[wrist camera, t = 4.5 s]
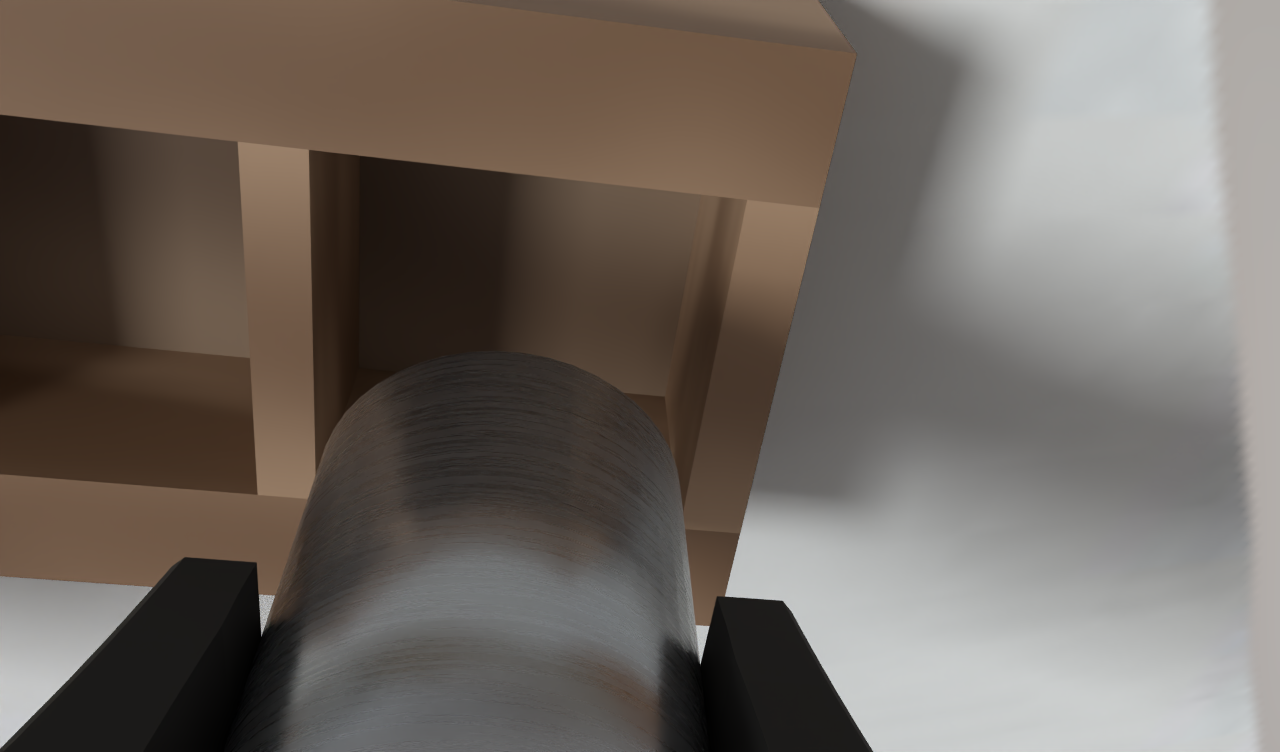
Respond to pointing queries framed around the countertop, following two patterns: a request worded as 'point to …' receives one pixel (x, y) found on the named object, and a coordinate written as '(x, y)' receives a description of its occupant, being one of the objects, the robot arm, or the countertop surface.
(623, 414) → the peg
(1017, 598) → the countertop surface
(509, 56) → the socket block
